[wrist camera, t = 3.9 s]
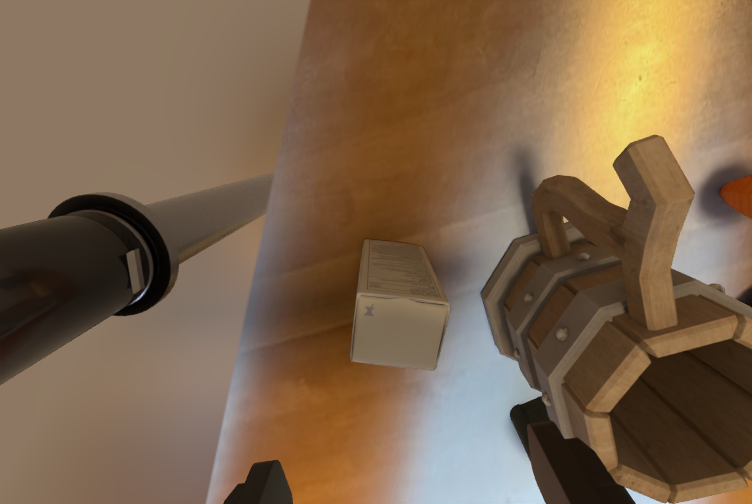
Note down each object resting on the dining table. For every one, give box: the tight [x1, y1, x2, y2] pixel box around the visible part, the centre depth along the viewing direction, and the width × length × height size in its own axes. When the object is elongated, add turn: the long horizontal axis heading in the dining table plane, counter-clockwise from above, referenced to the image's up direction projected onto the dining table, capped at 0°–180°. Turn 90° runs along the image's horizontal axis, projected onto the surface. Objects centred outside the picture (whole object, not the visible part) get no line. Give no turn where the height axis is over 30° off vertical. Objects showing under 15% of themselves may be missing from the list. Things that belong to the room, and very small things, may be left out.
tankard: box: [481, 135, 752, 504], centre depth 22 cm, size 20×13×15 cm, turn 20°
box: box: [350, 239, 451, 371], centre depth 24 cm, size 5×4×11 cm
